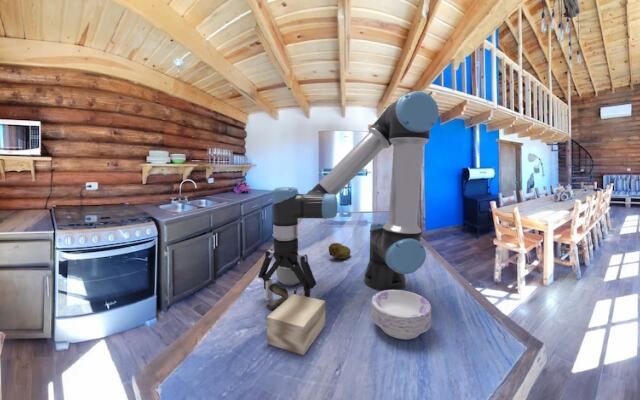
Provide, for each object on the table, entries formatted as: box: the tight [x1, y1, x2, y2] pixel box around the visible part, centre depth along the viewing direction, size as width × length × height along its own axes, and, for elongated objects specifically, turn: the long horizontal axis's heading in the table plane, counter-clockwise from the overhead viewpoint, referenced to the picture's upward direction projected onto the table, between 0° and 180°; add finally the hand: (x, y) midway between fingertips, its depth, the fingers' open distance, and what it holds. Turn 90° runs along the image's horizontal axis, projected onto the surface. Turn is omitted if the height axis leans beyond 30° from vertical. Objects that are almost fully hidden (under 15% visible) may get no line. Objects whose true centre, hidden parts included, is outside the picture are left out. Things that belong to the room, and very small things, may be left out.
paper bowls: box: [371, 289, 432, 340], centre depth 70 cm, size 15×15×8 cm
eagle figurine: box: [266, 282, 298, 310], centre depth 82 cm, size 8×7×9 cm
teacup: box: [275, 260, 304, 286], centre depth 101 cm, size 14×11×8 cm
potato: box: [328, 242, 351, 260], centre depth 125 cm, size 8×13×8 cm, turn 116°
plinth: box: [266, 293, 326, 356], centre depth 68 cm, size 10×13×7 cm
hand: (286, 303), depth 84 cm, fingers open, 12 cm apart
